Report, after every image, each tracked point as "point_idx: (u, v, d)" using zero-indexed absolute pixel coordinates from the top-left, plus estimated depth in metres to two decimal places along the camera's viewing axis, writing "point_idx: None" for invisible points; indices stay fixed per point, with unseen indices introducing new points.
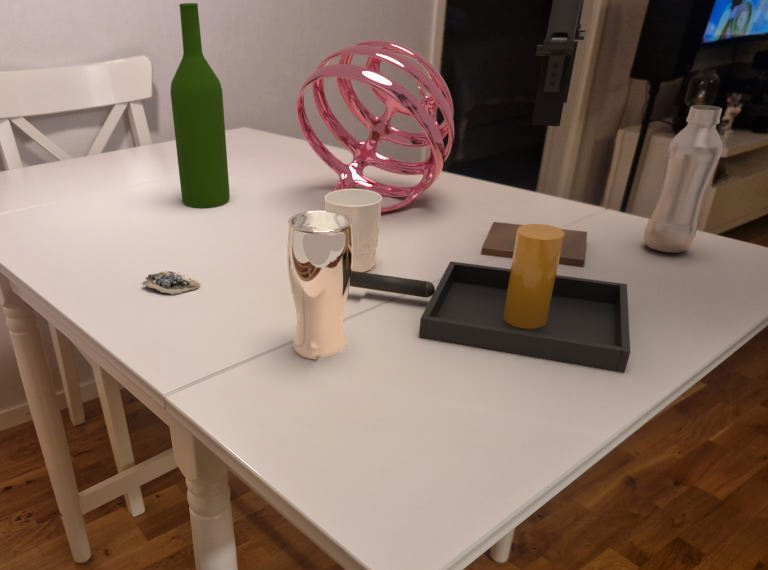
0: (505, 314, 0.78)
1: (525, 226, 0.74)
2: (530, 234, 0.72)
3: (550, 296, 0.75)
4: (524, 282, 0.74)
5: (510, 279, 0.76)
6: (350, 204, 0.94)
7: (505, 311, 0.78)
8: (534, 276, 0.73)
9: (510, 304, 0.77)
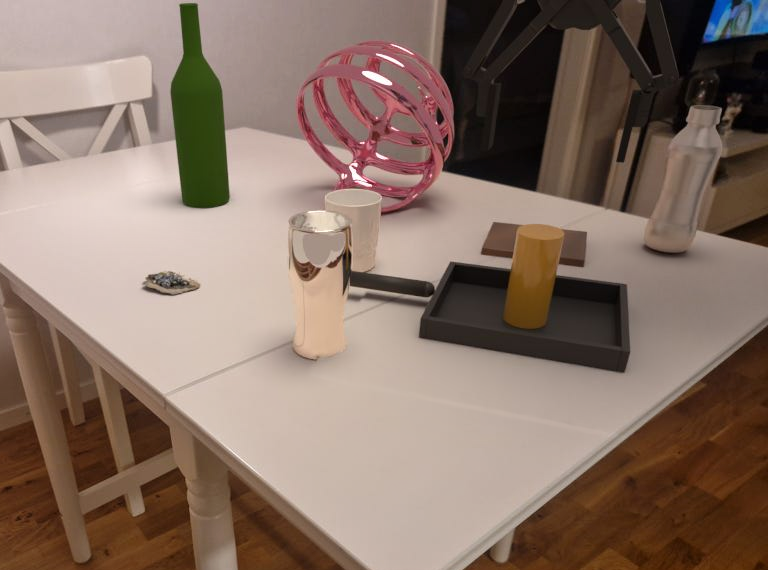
0: (505, 314, 0.78)
1: (525, 226, 0.74)
2: (530, 234, 0.72)
3: (550, 296, 0.75)
4: (524, 282, 0.74)
5: (510, 279, 0.76)
6: (350, 204, 0.94)
7: (505, 311, 0.78)
8: (534, 276, 0.73)
9: (510, 304, 0.77)
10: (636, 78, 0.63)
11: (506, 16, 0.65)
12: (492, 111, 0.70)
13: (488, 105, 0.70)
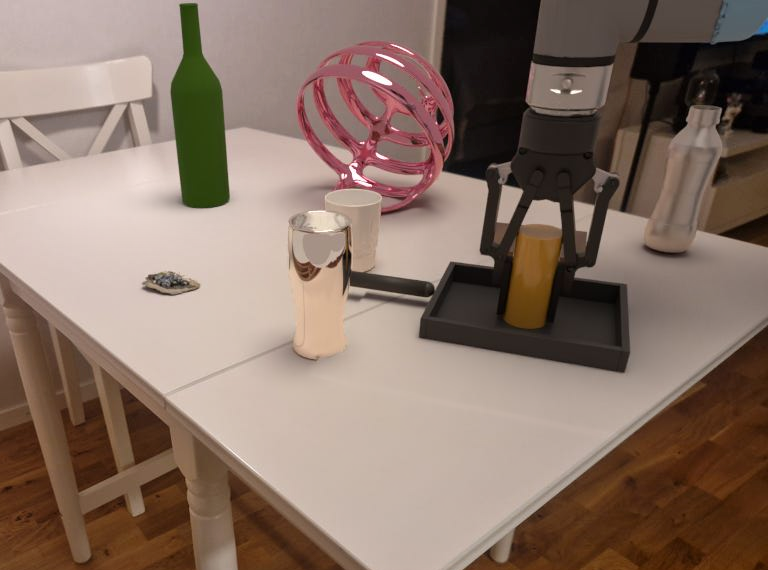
0: (505, 314, 0.78)
1: (525, 226, 0.74)
2: (530, 234, 0.72)
3: (550, 296, 0.75)
4: (524, 282, 0.74)
5: (510, 279, 0.76)
6: (350, 204, 0.94)
7: (505, 311, 0.78)
8: (534, 276, 0.73)
9: (510, 304, 0.77)
10: (565, 255, 0.72)
11: (497, 198, 0.72)
12: (507, 284, 0.76)
13: (503, 278, 0.76)
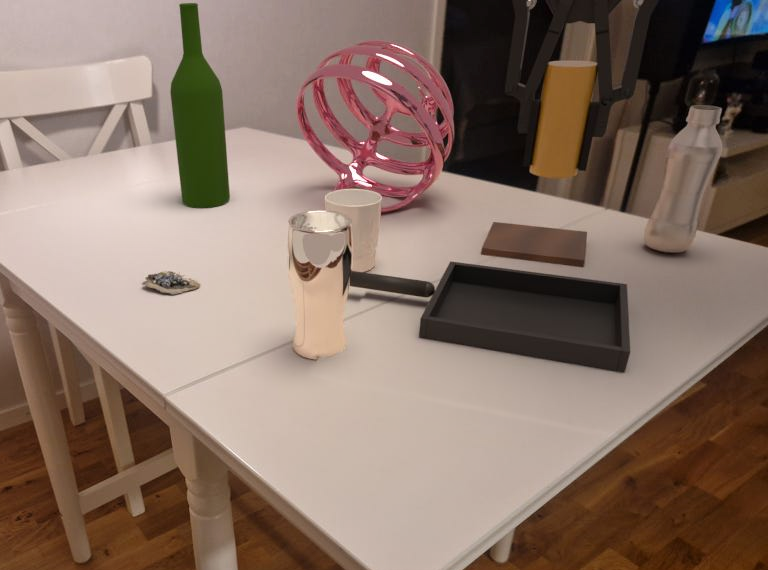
0: (532, 166, 0.72)
1: (554, 61, 0.68)
2: (562, 64, 0.66)
3: (582, 140, 0.69)
4: (554, 122, 0.68)
5: (538, 123, 0.70)
6: (350, 204, 0.94)
7: (532, 162, 0.72)
8: (565, 113, 0.67)
9: (539, 151, 0.70)
10: (600, 86, 0.66)
11: (525, 24, 0.66)
12: (534, 128, 0.70)
13: (531, 122, 0.70)
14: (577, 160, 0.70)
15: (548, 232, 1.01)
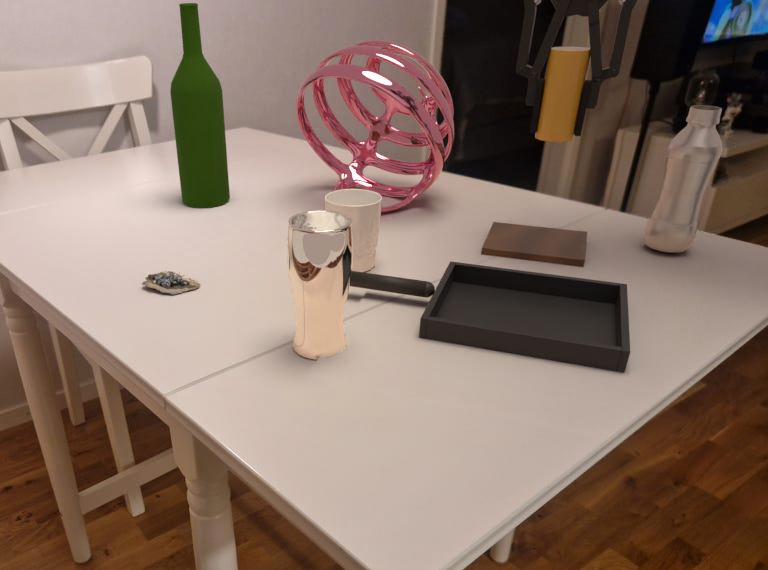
0: (537, 132, 0.88)
1: (556, 47, 0.85)
2: (562, 49, 0.83)
3: (578, 110, 0.86)
4: (555, 96, 0.84)
5: (542, 97, 0.86)
6: (350, 204, 0.94)
7: (537, 129, 0.88)
8: (564, 89, 0.84)
9: (542, 120, 0.87)
10: (592, 67, 0.82)
11: (533, 17, 0.82)
12: (539, 101, 0.86)
13: (536, 96, 0.86)
14: (573, 127, 0.86)
15: (548, 232, 1.01)
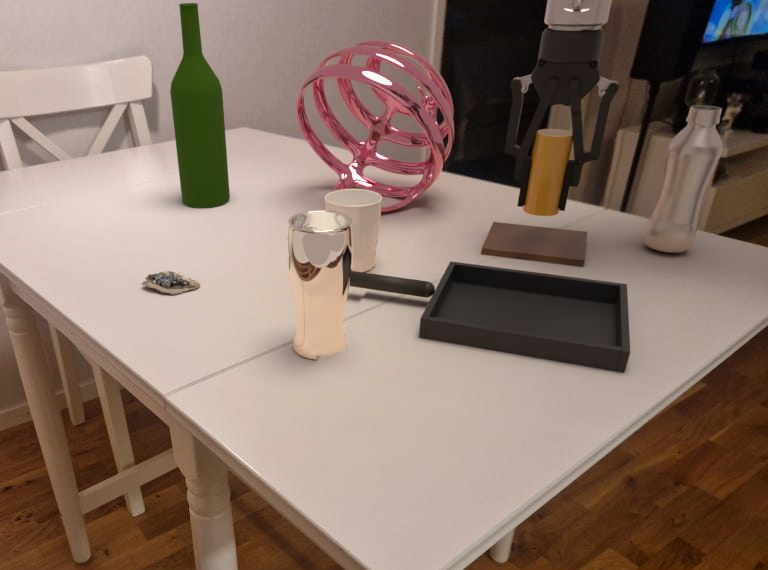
0: (525, 206, 0.95)
1: (542, 130, 0.92)
2: (546, 134, 0.90)
3: (562, 188, 0.93)
4: (541, 175, 0.91)
5: (529, 175, 0.93)
6: (350, 204, 0.94)
7: (525, 203, 0.95)
8: (549, 169, 0.90)
9: (529, 195, 0.94)
10: (574, 150, 0.89)
11: (520, 104, 0.89)
12: (526, 178, 0.93)
13: (523, 174, 0.93)
14: (558, 203, 0.93)
15: (548, 232, 1.01)
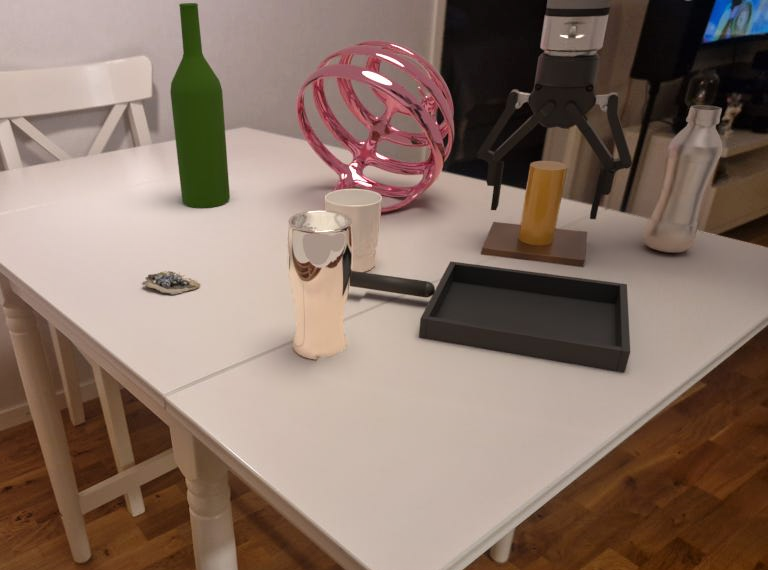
0: (520, 235, 0.98)
1: (536, 162, 0.94)
2: (541, 167, 0.92)
3: (556, 218, 0.95)
4: (535, 206, 0.94)
5: (524, 205, 0.96)
6: (350, 204, 0.94)
7: (520, 232, 0.98)
8: (543, 201, 0.93)
9: (524, 225, 0.96)
10: (602, 162, 0.89)
11: (508, 117, 0.90)
12: (499, 182, 0.95)
13: (496, 178, 0.95)
14: (552, 232, 0.96)
15: None
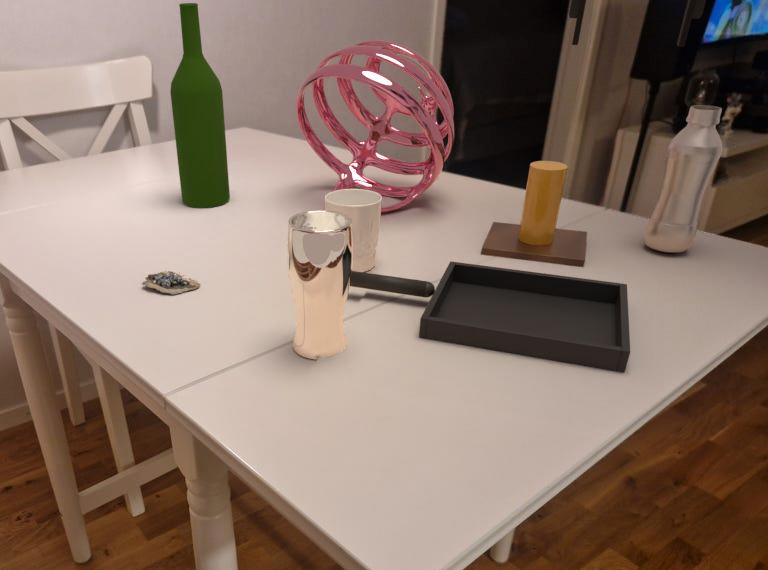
0: (520, 235, 0.98)
1: (536, 162, 0.94)
2: (541, 167, 0.92)
3: (556, 218, 0.95)
4: (535, 206, 0.94)
5: (524, 205, 0.96)
6: (350, 204, 0.94)
7: (520, 232, 0.98)
8: (543, 201, 0.93)
9: (524, 225, 0.96)
10: None
11: None
12: (582, 12, 0.92)
13: (580, 8, 0.92)
14: (552, 232, 0.96)
15: None
